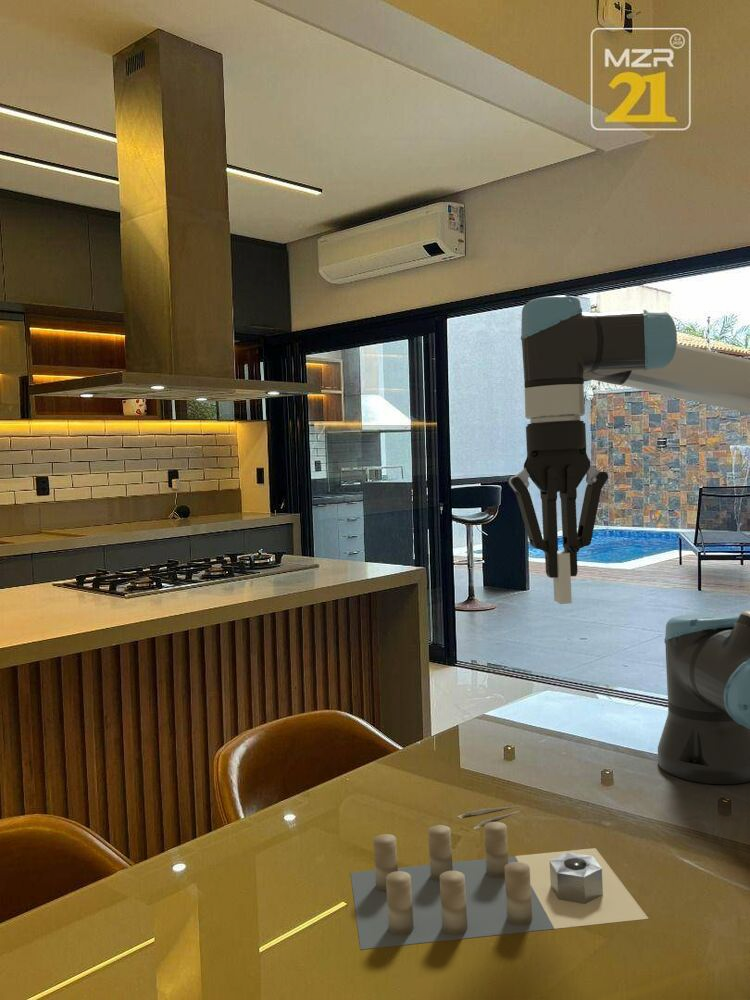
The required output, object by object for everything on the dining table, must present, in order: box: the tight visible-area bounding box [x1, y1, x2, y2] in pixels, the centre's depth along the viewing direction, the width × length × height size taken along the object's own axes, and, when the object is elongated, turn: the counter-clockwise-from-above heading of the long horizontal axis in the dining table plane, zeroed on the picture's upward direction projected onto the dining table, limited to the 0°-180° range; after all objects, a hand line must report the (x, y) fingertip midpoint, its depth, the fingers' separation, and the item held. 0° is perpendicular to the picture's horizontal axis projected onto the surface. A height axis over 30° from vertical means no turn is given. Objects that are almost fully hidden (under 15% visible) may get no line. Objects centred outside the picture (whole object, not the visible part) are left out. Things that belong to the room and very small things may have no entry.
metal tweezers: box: [455, 805, 520, 830], centre depth 118 cm, size 17×5×2 cm, turn 116°
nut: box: [550, 852, 603, 904], centre depth 96 cm, size 5×6×3 cm
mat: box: [349, 847, 649, 951], centre depth 96 cm, size 30×16×1 cm, turn 95°
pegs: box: [372, 821, 532, 935], centre depth 95 cm, size 16×14×6 cm
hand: (562, 601), depth 113 cm, fingers closed
